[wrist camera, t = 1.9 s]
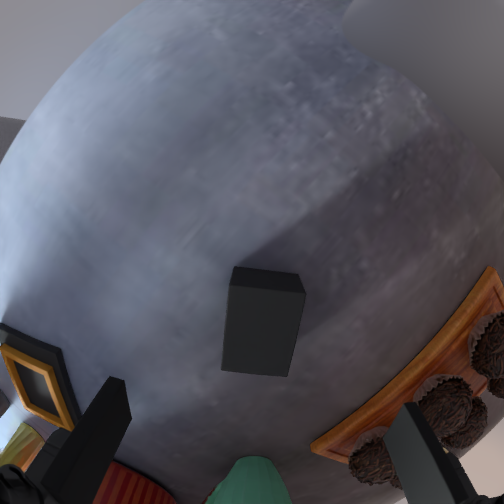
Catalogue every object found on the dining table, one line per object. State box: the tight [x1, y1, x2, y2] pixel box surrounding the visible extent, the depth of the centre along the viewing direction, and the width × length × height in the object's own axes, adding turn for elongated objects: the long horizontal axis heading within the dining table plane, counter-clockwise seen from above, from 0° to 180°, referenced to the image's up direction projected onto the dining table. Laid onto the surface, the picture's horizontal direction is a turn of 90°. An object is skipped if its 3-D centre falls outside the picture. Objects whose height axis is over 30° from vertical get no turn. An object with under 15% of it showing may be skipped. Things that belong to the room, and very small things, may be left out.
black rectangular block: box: [221, 266, 306, 377], centre depth 21 cm, size 7×5×4 cm
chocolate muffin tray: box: [310, 266, 504, 490], centre depth 21 cm, size 28×17×8 cm, turn 141°
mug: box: [202, 456, 292, 504], centre depth 24 cm, size 15×10×10 cm
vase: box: [0, 423, 45, 472], centre depth 24 cm, size 6×6×14 cm
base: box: [0, 323, 82, 432], centre depth 25 cm, size 16×12×2 cm
